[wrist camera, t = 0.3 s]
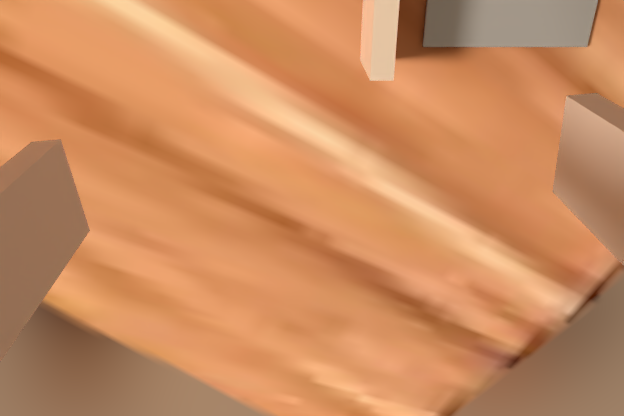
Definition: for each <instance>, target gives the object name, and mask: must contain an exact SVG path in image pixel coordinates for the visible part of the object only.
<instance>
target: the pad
mask: <svg viewBox="0 0 624 416" xmlns="http://www.w3.org/2000/svg"><path fill="white" fill-rule="evenodd" d="M597 3H598V0H427V5H426V15H425V25H424V36H423V47H587V45H588V41H589V37H590V33H591V28H592V24H593V20H594V16H595V11H596V7H597Z"/></svg>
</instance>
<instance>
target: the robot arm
mask: <svg viewBox="0 0 624 416" xmlns="http://www.w3.org/2000/svg"><path fill="white" fill-rule="evenodd" d="M553 193H554V194H555V195H556V196H557V197H558V198H559V199H560V200H561V201H562V202H563V203H564V204H565V205H566V206H567V207H568V208H569V209H570V210H571V212H572V213H573V214H574V215H575V216H576V217H577V218H578V219H579V220H580V221H581V222H582V223H583V224H584V225H585V226H586V227H587V228H588V229H589V230H590V231H591V232H592V233H593V234H594V235H595V236H596V237H597V238H598V240H599V241H600V242H601V243H602V244H603V245H604V246H605V247H606V248H607V249H608V250H609V251H610V252H611V253H612V254H613V255H614V256H615V257H616V258H617V259H618V260H619V261H620V262H621V263H622V264H623V265H624V108H622V107H620V106H619V105H617V104H615V103H613V102H611V101H610V100H608V99H606V98H604V97H602V96H601V95H599V94H597V93H592V94H581V95H569V96H566V102H565V109H564V116H563V123H562V130H561V137H560V144H559V151H558V158H557V165H556V171H555V178H554V185H553ZM89 231H90V230H89V227H88V223H87V220H86V217H85V214H84V211H83V208H82V205H81V201H80V198H79V195H78V192H77V189H76V186H75V183H74V179H73V176H72V173H71V170H70V167H69V164H68V161H67V158H66V154H65V151H64V148H63V145H62V142H61V139H60V140H48V141H37V142H31V143H30V144H29V145H27V146H26V147H25V148H24V149H22V150H21V151H20V152H19V153H17V154H16V155H15V156H14V157H13V158H11V159H10V160H9V161H8V162H6V163H5V164H4V165H3V166H1V167H0V362H1V360H2V359H3V357H4V356H5V354H6V352H7V351H8V350H9V349H10V347H11V345H12V344H13V343H14V341H15V340H16V338H17V337H18V335H19V334H20V332H21V331H22V329H23V328H24V326H25V325H26V323H27V322H28V321H29V319H30V318H31V316H32V315H33V313H34V312H35V310H36V309H37V307H38V306H39V304H40V303H41V302H42V300H43V299H44V297H45V296H46V294H47V293H48V291H49V290H50V288H51V287H52V285H53V284H54V282H55V281H56V279H57V278H58V277H59V275H60V274H61V272H62V271H63V269H64V268H65V266H66V265H67V263H68V262H69V260H70V259H71V257H72V256H73V254H74V253H75V252H76V250H77V249H78V247H79V246H80V244H81V243H82V241H83V240H84V238H85V237H86V235H87V234H88V232H89Z"/></svg>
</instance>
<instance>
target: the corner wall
mask: <svg viewBox="0 0 624 416" xmlns="http://www.w3.org/2000/svg"><path fill="white" fill-rule="evenodd" d="M399 2H400V0H363V10H362V32H361V54H360V61H361V63H362V65H363V67H364V69H365V71H366V73H367V75H368V77H369V79H370V81H394V69H395V56H396V43H397V29H398V16H399Z"/></svg>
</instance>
